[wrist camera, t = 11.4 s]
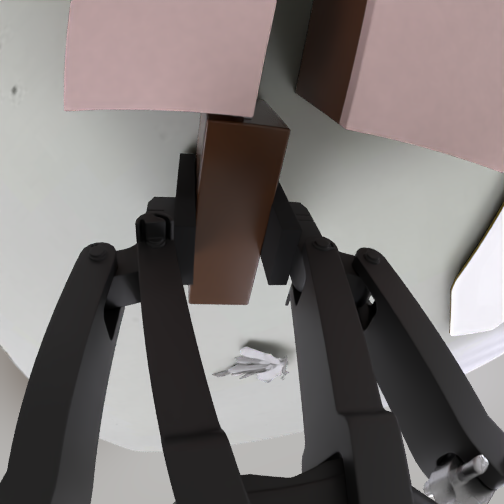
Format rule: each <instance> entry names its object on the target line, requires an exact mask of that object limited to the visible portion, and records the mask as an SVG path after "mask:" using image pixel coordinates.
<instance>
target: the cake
mask: <svg viewBox="0 0 504 504" xmlns="http://www.w3.org/2000/svg"><path fill="white" fill-rule="evenodd" d="M295 93H296V94H297V95H299V96H300V97H302V98H303V99H305V100H306V101H308V102H309V103H311V104H312V105H313V106H315V107H316V108H318V109H319V110H320V111H322V112H323V113H324V114H326V115H327V116H329V117H330V118H331V119H333V120H334V121H335V122H337V123H338V124H340V125H341V126H342V127H343V128H345V129H346V130H351V131H356V132H361V133H366V134H371V135H375V136H380V137H384V138H389V139H393V140H397V141H401V142H405V143H409V144H413V145H417V146H420V147H424V148H428V149H431V150H435V151H438V152H441V153H445V154H448V155H451V156H455V157H458V158H461V159H464V160H467V161H470V162H473V163H476V164H479V165H482V166H485V167H488V168H490V169H493V170H496V171H498V172H501V173H503V172H504V0H314V1H313V6H312V11H311V16H310V21H309V26H308V31H307V36H306V41H305V46H304V51H303V56H302V61H301V66H300V71H299V76H298V81H297V86H296V91H295Z"/></svg>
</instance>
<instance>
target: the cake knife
mask: <svg viewBox="0 0 504 504" xmlns="http://www.w3.org/2000/svg"><path fill="white" fill-rule="evenodd" d="M289 135H290V129H289V128H288V126H287V125H286V124H285V123H284V122H283V121H282V120H281V118H280V117H279V116H278V115H277V114H276V113H275V112H274V111H273V109H272V108H271V107H270V106H269V105H268V104H267V103H266V102H265V101H264V100H261V99H257V100H256V105H255V110H254V116H253V117H251V118H250V117H242V116H232V115H223V114H212V113H201V116H200V124H199V132H198V140H197V149H196V158H195V207H196V234H195V253H194V276H193V285H188V298H189V304H222V305H247V304H248V303H249V299H250V295H251V291H252V287H253V283H254V279H255V275H256V271H257V267H258V263H259V259H260V254H261V250H262V246H263V242H264V238H265V234H266V230H267V225H268V220H269V216H270V211H271V206H272V204H273V202H274V198H275V193H276V189H277V185H278V181H279V177H280V173H281V169H282V165H283V160H284V156H285V152H286V148H287V144H288V140H289Z"/></svg>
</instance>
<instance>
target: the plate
mask: <svg viewBox="0 0 504 504" xmlns="http://www.w3.org/2000/svg"><path fill="white" fill-rule="evenodd" d="M503 322H504V202H503V204H502V206H501V208H500V209H499V211H498V213H497V214H496V216H495V218H494V220H493V221H492V223H491V225H490V226H489V228H488V230H487V231H486V233H485V234H484V236H483V238H482V239H481V241H480V242H479V244H478V245H477V247H476V249H475V250H474V252H473V253H472V255H471V256H470V258H469V259H468V261H467V262H466V263H465V265H464V266H463V268H462V269H461V271H460V272H459V273H458V275H457V276H456V278H455V280H454V282H453V285H452V287H451V302H450V330H449V333H450V335H452V336H460V335H467V334H473V333H480V332H486V331H491V330H492V329H494V328H496V327H497V326H499V325H500V324H501V323H503Z"/></svg>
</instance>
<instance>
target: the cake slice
mask: <svg viewBox="0 0 504 504" xmlns="http://www.w3.org/2000/svg"><path fill="white" fill-rule="evenodd" d="M276 3H277V0H71V4H70V11H69V19H68V28H67V39H66V52H65V72H64V111H82V110H165V111H184V112H199V113H212V114H223V115H232V116H242V117H250V118H251V117H253V116H254V110H255V105H256V100H257V95H258V90H259V85H260V80H261V75H262V70H263V65H264V60H265V55H266V50H267V46H268V41H269V36H270V31H271V27H272V22H273V17H274V13H275V8H276Z"/></svg>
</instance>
